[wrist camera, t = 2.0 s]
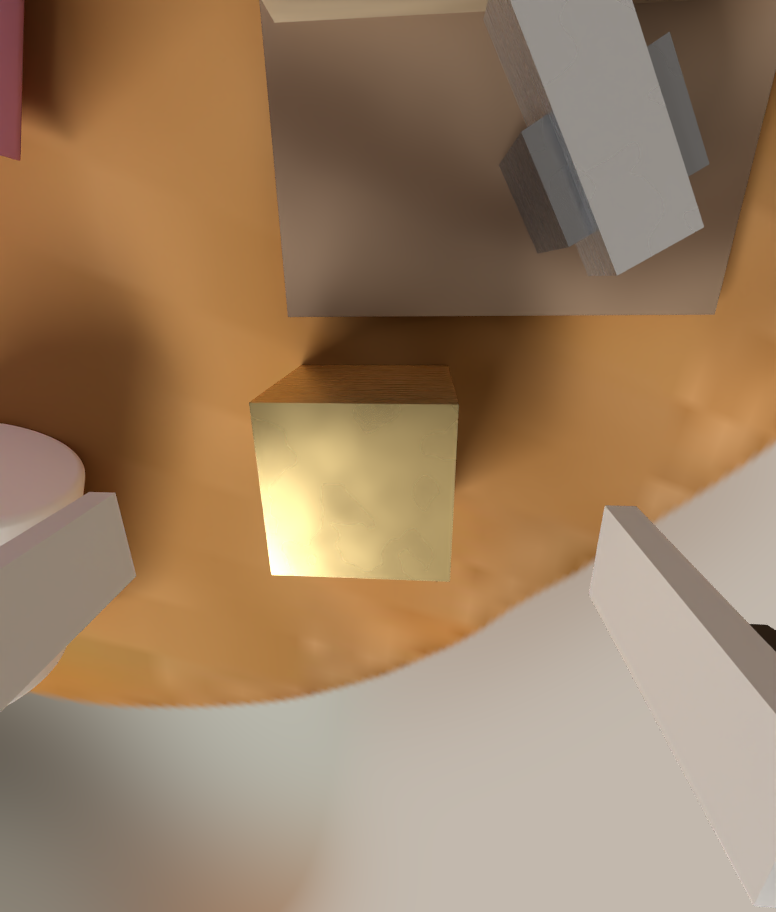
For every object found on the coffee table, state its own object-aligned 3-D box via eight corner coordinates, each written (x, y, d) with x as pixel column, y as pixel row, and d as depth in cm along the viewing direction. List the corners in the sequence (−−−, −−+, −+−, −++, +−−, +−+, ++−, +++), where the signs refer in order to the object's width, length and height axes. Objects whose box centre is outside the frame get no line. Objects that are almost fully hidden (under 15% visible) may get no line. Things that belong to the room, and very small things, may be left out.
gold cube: (301, 364, 18) (249, 402, 13) (447, 365, 18) (458, 404, 12) (312, 494, 21) (271, 574, 15) (442, 497, 20) (449, 581, 15)
